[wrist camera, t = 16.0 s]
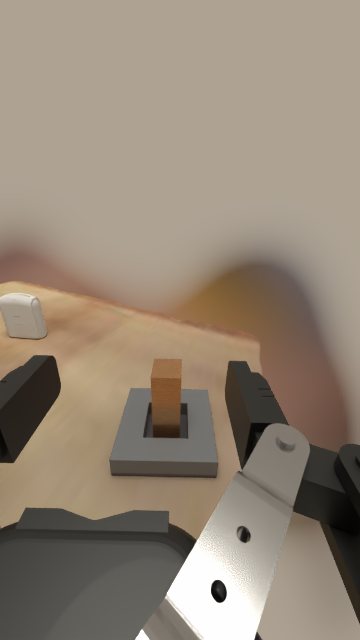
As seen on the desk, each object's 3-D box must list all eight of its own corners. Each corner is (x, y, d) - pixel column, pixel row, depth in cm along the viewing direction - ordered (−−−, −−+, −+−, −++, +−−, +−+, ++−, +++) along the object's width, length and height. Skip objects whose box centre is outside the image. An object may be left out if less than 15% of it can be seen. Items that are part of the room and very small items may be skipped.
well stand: (111, 475, 32) (109, 459, 31) (131, 401, 45) (130, 388, 44) (216, 477, 32) (218, 462, 31) (206, 402, 45) (207, 389, 44)
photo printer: (6, 337, 67) (-8, 295, 62) (17, 331, 70) (6, 290, 65) (40, 340, 65) (30, 297, 60) (50, 333, 69) (41, 292, 64)
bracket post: (153, 442, 36) (150, 377, 31) (156, 419, 40) (154, 358, 36) (179, 443, 36) (181, 378, 31) (179, 420, 40) (181, 359, 36)
